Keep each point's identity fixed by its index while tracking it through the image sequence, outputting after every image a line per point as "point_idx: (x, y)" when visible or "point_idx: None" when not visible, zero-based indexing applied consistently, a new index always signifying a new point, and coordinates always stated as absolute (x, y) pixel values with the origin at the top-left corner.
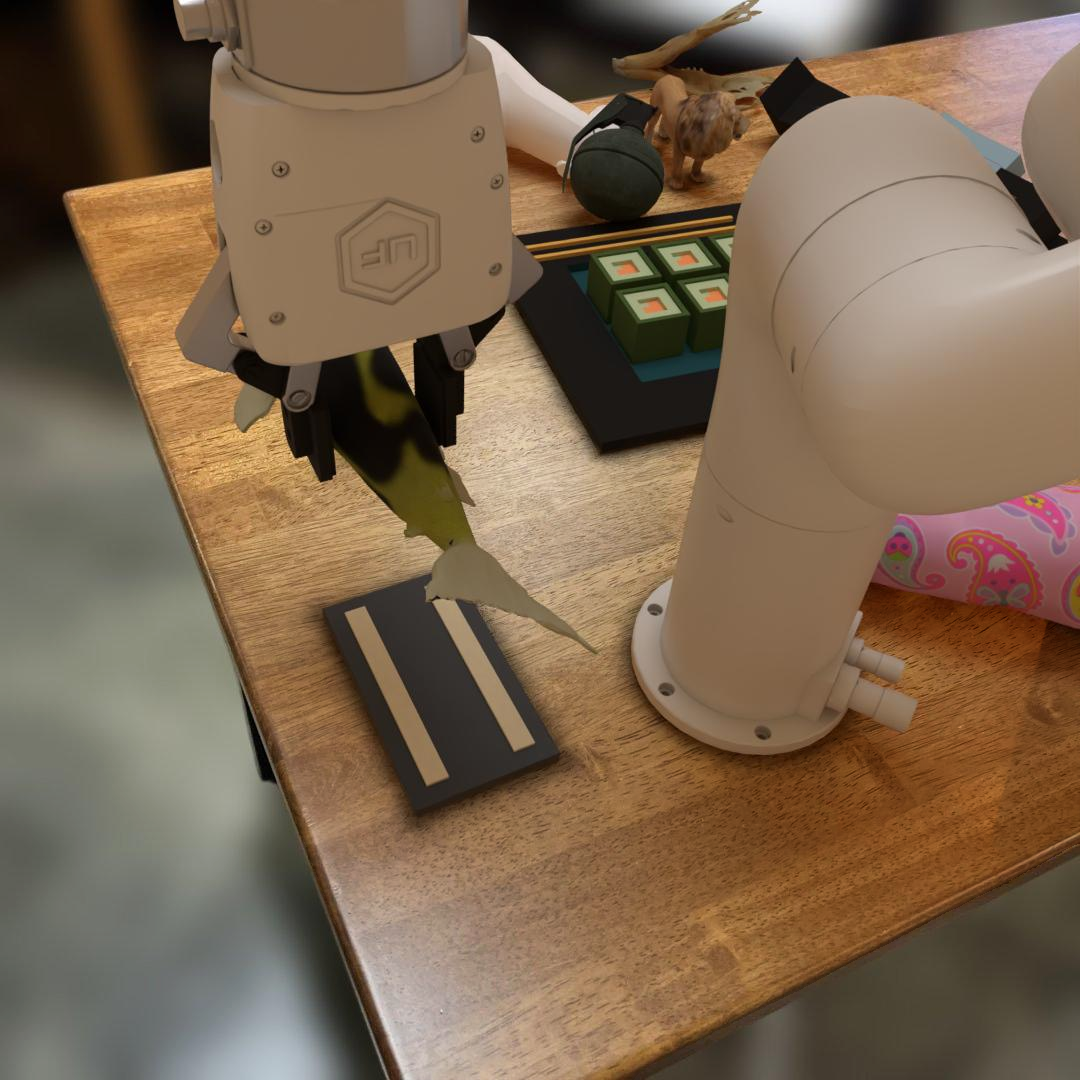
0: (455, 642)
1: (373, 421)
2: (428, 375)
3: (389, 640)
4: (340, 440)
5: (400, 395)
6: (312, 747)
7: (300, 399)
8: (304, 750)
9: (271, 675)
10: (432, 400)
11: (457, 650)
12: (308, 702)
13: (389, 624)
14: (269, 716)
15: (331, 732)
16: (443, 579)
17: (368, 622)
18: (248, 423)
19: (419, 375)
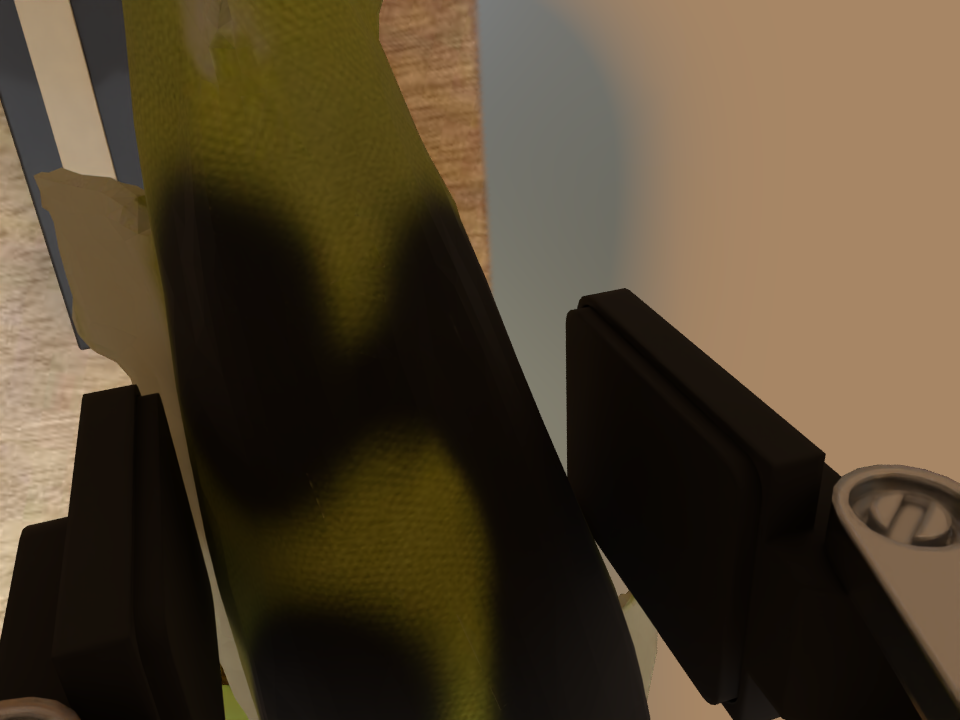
0: (109, 155)
1: (472, 465)
2: (195, 684)
3: None
4: (548, 434)
5: (335, 588)
6: (425, 10)
7: (894, 515)
8: (440, 8)
9: (458, 186)
10: (181, 566)
11: (107, 137)
12: (411, 111)
13: None
14: (479, 101)
15: (386, 32)
16: None
17: None
18: None
19: (214, 700)
